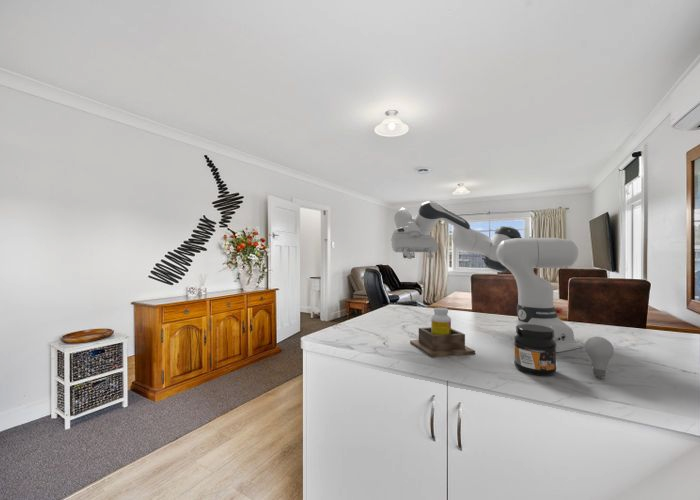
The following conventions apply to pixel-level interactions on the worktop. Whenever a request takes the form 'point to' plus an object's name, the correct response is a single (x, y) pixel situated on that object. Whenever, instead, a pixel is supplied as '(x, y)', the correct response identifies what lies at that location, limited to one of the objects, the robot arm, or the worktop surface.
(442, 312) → the supplement bottle
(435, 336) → the bottle caddy
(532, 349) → the supplement container
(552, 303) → the robot arm
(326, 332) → the worktop surface
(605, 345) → the lightbulb
